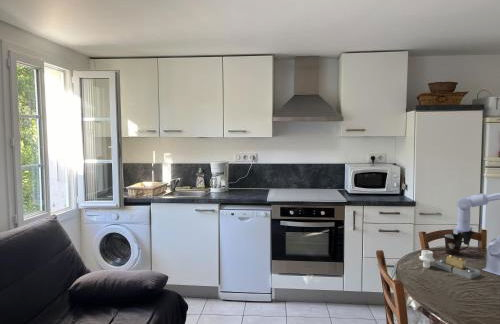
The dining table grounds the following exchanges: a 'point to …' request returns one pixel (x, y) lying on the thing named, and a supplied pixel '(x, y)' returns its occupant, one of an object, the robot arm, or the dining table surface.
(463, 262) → the gold bar with studs
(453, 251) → the coffee mug
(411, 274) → the dining table surface
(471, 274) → the grey slotted frame
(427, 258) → the pipe fitting
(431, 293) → the dining table surface
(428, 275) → the dining table surface
